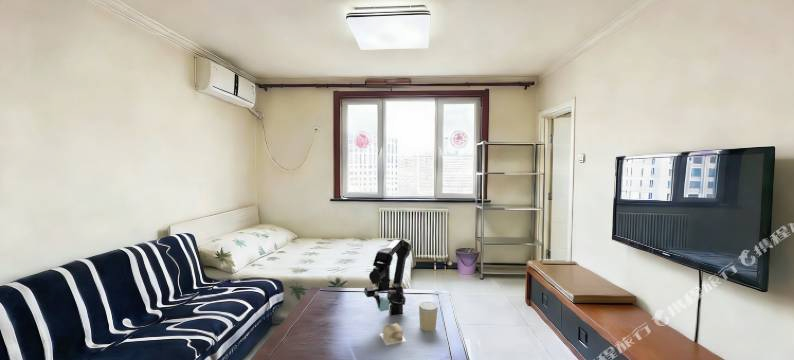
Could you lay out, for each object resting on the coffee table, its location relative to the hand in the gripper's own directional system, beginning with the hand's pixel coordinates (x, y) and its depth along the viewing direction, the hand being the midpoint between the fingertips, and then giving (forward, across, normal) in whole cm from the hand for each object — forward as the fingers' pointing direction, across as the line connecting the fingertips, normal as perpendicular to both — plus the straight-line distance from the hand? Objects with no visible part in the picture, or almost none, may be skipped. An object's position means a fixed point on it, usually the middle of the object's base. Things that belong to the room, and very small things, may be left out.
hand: (383, 306), depth 159 cm
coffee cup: (+11, -21, +8) cm, 25 cm away
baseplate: (+11, -1, +11) cm, 16 cm away
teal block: (+1, 0, 0) cm, 1 cm away
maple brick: (+10, -1, +11) cm, 15 cm away
